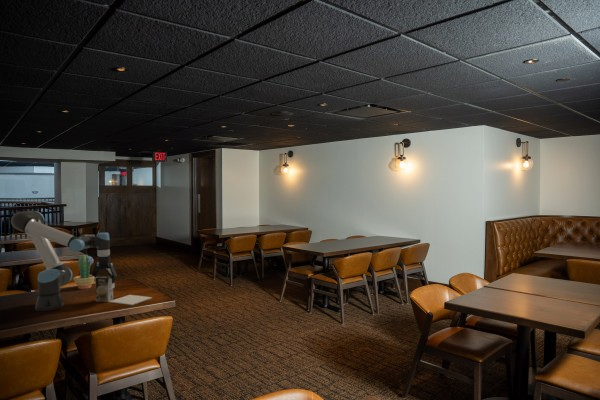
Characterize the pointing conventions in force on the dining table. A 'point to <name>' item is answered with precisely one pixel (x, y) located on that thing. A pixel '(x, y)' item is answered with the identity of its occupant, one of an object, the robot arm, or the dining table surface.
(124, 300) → the mat
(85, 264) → the potted cactus
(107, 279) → the coffee box
